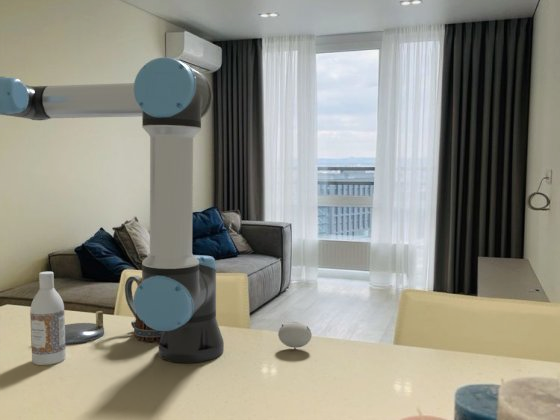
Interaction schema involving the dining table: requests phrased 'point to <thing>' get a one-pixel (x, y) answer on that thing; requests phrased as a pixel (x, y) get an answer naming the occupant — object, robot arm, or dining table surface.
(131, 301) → the mug
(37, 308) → the bath foam
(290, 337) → the figurine
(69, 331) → the disc
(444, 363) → the dining table surface
